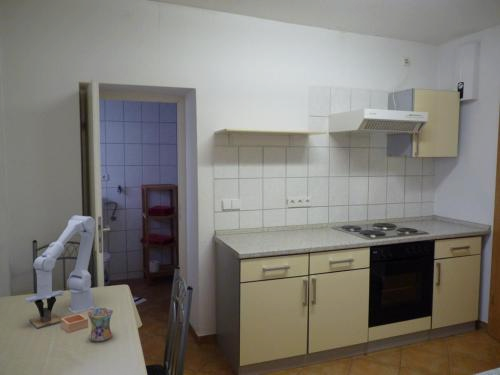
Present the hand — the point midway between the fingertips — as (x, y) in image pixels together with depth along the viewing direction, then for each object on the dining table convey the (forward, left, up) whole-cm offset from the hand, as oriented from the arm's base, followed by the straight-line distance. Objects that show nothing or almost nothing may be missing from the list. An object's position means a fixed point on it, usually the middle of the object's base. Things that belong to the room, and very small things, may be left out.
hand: (45, 315), depth 171 cm
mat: (0, 0, -4) cm, 4 cm away
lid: (0, 0, -3) cm, 2 cm away
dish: (-7, +13, -4) cm, 15 cm away
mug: (-11, +28, -4) cm, 30 cm away
